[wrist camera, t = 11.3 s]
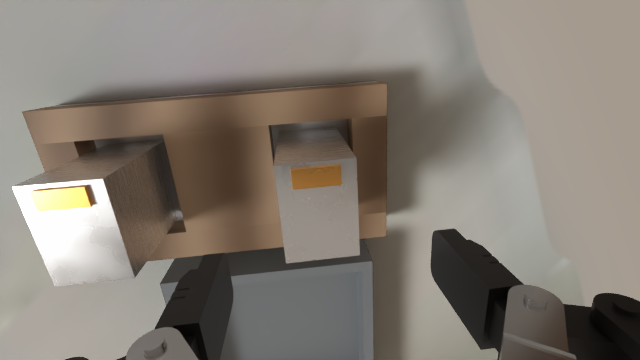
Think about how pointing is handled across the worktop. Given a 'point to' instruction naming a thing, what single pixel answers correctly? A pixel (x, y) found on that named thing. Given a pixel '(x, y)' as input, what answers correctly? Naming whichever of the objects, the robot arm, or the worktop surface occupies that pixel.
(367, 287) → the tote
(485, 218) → the worktop surface
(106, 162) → the block
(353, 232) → the block
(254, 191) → the pallet
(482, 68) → the worktop surface
